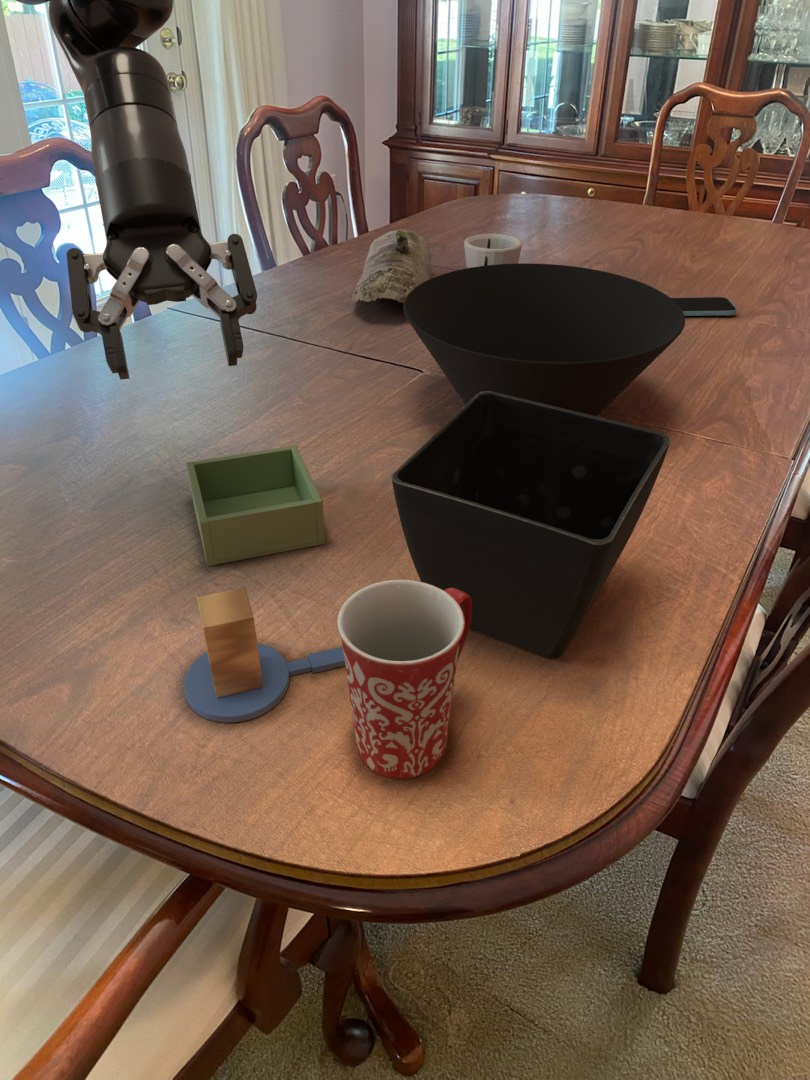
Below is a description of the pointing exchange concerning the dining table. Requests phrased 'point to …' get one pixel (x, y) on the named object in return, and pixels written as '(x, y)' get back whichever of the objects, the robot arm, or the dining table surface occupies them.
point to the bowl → (542, 331)
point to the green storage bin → (255, 504)
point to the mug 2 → (491, 250)
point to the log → (394, 266)
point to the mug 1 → (402, 671)
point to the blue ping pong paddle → (256, 700)
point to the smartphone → (705, 306)
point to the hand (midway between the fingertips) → (179, 369)
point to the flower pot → (525, 512)
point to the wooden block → (231, 642)
